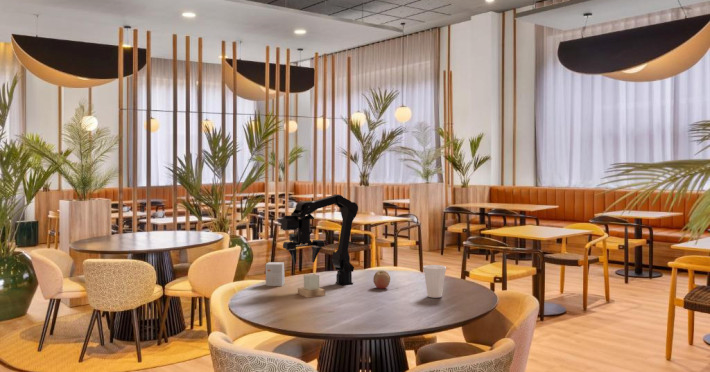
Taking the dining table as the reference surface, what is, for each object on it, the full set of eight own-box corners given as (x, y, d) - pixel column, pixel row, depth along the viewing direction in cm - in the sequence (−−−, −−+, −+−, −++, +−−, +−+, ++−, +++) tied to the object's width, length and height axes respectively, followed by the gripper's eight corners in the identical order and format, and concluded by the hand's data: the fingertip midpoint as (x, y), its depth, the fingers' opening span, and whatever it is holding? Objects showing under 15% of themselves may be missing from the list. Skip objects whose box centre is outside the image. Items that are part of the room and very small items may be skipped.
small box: (284, 284, 282) (284, 262, 282) (282, 286, 277) (282, 264, 276) (268, 283, 283) (268, 262, 283) (265, 286, 278) (265, 263, 277)
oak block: (315, 292, 265) (315, 286, 264) (325, 296, 257) (324, 289, 257) (297, 294, 260) (297, 288, 260) (306, 298, 252) (306, 291, 252)
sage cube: (313, 287, 262) (313, 273, 262) (319, 289, 258) (319, 275, 258) (303, 288, 259) (303, 274, 259) (309, 290, 255) (309, 276, 255)
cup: (449, 295, 255) (449, 265, 255) (442, 300, 246) (442, 269, 246) (427, 293, 259) (427, 264, 259) (419, 298, 250) (419, 267, 250)
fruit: (370, 289, 269) (370, 271, 269) (376, 286, 277) (376, 269, 276) (387, 290, 266) (387, 273, 266) (392, 287, 274) (392, 270, 274)
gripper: (314, 226, 281) (315, 259, 281) (278, 228, 272) (278, 262, 272) (325, 228, 271) (325, 262, 271) (287, 231, 262) (287, 265, 262)
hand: (304, 263), depth 270 cm, fingers open, 9 cm apart
